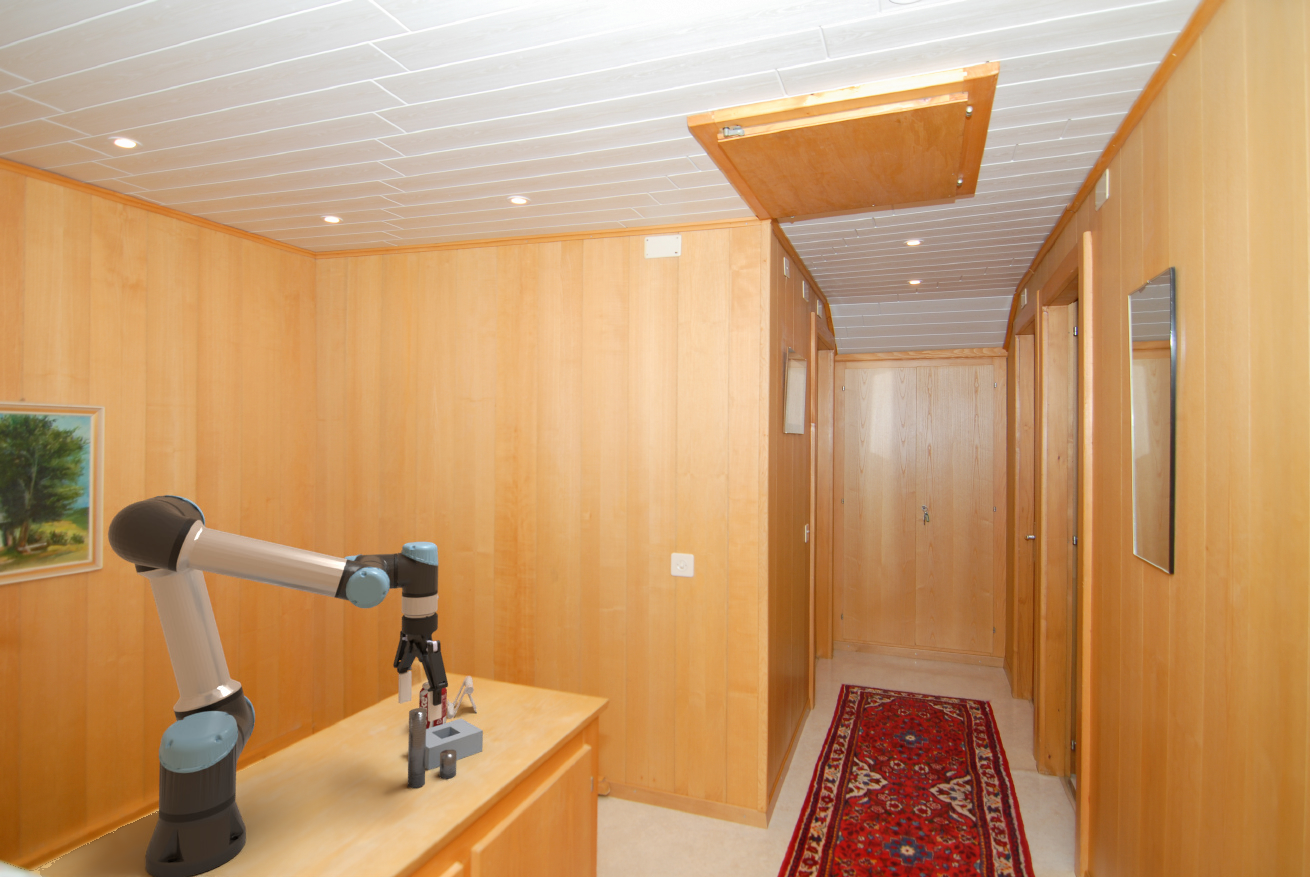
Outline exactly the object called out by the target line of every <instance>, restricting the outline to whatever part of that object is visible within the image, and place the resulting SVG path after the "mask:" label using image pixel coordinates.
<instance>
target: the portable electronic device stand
mask: <svg viewBox="0 0 1310 877" xmlns="http://www.w3.org/2000/svg"><path fill="white" fill-rule="evenodd" d="M473 682H474V681H473V678H472V676H471V675H466V676H465V678H464V679H463V682H462V683H461V685H460V689H459V690H458V692H457V694H456V697H455V699H454V700H453V702H450V699H447V711H446V717H447V718H448V719H454V717H455V716H456V714H457V711H458V709H459V707H460V705H461V703H462V701H463V698H464V697H465V695H467V696H468V698H469V701H470V703H471V706H472V707H473V709H474V712H475V714H477V712H478V711H477V705H476V703H475V701H474V698H473V696H472V694H473V693H474V690H475V689H474V683H473ZM464 686H465V687H464ZM463 688H464V689H463ZM462 691H463V692H462ZM460 695H461V696H460ZM459 697H460V698H459ZM458 699H459V701H458ZM456 703H457V704H456ZM455 705H456V707H455Z"/></svg>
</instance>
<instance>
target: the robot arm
mask: <svg viewBox="0 0 1310 877" xmlns="http://www.w3.org/2000/svg"><path fill="white" fill-rule="evenodd" d="M107 539H108V542H109V545H110V547H111V550H112V551H113V552H114V553H115V554H116V555H117V556H118V557H119V558H121V559H122V560H124V561H126V562H128V563H131V564H134V567H135V571H136V573H137V575H139V576H142V577H144V578H146V579H147V580H149V585H150V588H151V592H152V595H153V599H154V602H155V606H156V610H157V615H158V618H159V622H160V626H161V629H162V632H163V637H164V641H165V644H166V648H167V652H168V656H169V660H170V663H171V667H172V671H173V674H174V679H175V681H176V685H177V686H176V687H177V689H178V692H179V693H178V694H179V698H178V699H177V701H176V703H175V704H174V705H173V707H172V708H173V712H174V716H175V719H176V720H175V721H174V723H172V724H171V725H169V726H168V727H167V728H166V729H165V730H164V732H163V734H162V737H161V738H160V746H159V747H158V748H159V749H158V759H159V776H158V777H159V778H158V779H159V780H158V781H159V782H158V783H159V784H158V786H159V787H158V791H159V792H158V820H157V822H156V825H155V827H154V831H153V833H152V836H151V838H150V840H149V843H148V846H147V848H146V852H145V871H146V872H147V873H148V874H149V875H151V876H153V877H191V876H194V875H195V876H196V875H198V874H202V873H205V872H208V871H210V870H213V869H215V868H217V867H220V866H222V865H224V864H225V863H227V862H229V861H230V860H232V859H233V858H234V857H236V856H237V855H239V853H240V852H241V851H242V850H243V848H244V847H245V846H246V845H245V844H246V840H247V835H246V834H247V829H246V825H245V822H244V819H243V817H242V815H241V812H240V809H239V806H238V803H237V800H236V798H237V795H236V793H237V792H236V791H237V789H236V788H237V765H238V760H239V758H240V756H241V754H242V753H243V750H244V749H245V746H247V743H248V741H249V739H250V738H251V736H252V734H253V732H254V731H253V730H254V729H255V723H256V712H255V707H254V706H253V703H252V702H251V700H250V699H249V698H248V697H247V696H246V695H245V694H244V691H243V690H244V689H243V686H242V684H241V681H237V680H235V679H232V678H231V676H230V675H231V674H230V671H229V668H228V664H227V660H226V655H225V652H224V648H223V644H222V641H221V637H220V633H219V628H218V625H217V622H216V618H215V613H214V610H213V607H212V602H211V598H210V595H209V591H208V588H207V583H206V580H205V576H204V572H205V573H207V572H208V573H212V574H217V575H220V576H221V575H222V576H226V577H230V578H231V577H232V578H237V579H241V580H247V581H251V582H255V583H261V584H266V585H271V586H276V587H281V588H286V589H290V590H296V591H301V592H306V593H311V594H317V595H320V596H325V597H329V598H336V599H339V600H344V601H349V602H350V603H351V604H352V605H353V606H354V607H357V608H360V609H371V608H374V607H377V606H379V605H380V604H381V603H382V602H383V601H384V600H385V599H386V597H387V595H388V593H389V592H390V589H392V590H393V589H401V614H402V616H401V630H400V632H399V641H398V645H397V650H396V653H395V656H394V661H393V666H392V667H393V668H394V669H396V671H397V674H398V704H403V703H408V702H411V701H412V682H413V681H412V679H413V678H412V677H413V676H412V671H411V670H413V668H412V665H413V664H414V662H415V659H416V658H417V659H418V661H419V663H421V664H422V667H423V670H424V674H425V677H426V680H427V682H428V683H429V686H430V688H429V689H428V721H433V720H436V719H439V718H441V708H442V688H446V689H447V688H448V687H449V683H448V678H447V673H446V669H445V668H446V667H445V663H444V660H443V655H442V649H441V647H442V646H441V645H442V644H441V641H440V640H439V639H438V640H433V636H432V635H433V633H435V632H436V631H437V630H438V628H439V614H438V613H437V612H438V609H439V608H438V607H439V606H438V605H439V604H438V603H439V601H438V600H439V598H440V596H439V554H438V553H439V549H438V548H439V547H438V546H437V544H435V543H434V542H429V541H413V542H407V543H405V544H403V545H402V546H401V551H400V552H397V553H381V554H380V553H379V554H362V553H361V554H356V555H349V556H345V557H344V558H343V557H338V556H334V555H330V554H326V553H325V554H324V553H320V552H317V551H313V550H307V549H304V548H299V547H294V546H290V545H285V544H282V543H281V544H280V543H277V542H276V543H275V542H273V541H272V542H271V541H267V540H264V539H263V540H262V539H260V538H259V539H258V538H254V537H250V536H246V535H241V534H236V533H232V532H227V531H222V530H218V529H215V528H214V529H213V528H209V527H206V518H205V515H204V513H203V510H202V509H201V508H200V506H199V505H198V504H196V502H194V501H192V500H191V499H189V498H186V497H183V496H180V495H173V494H172V495H170V494H164V495H156V496H155V497H150V498H148V499H144V500H141V501H136V502H134V503H131V504H128V505H126V506H125V507H122V509H121V510H119V511H118V512H117V513H116V515H115V516H113V518H112V520H111V522H110V524H109V526H108V531H107Z"/></svg>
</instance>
